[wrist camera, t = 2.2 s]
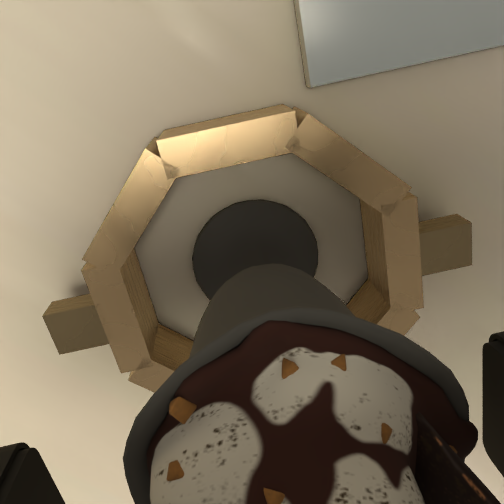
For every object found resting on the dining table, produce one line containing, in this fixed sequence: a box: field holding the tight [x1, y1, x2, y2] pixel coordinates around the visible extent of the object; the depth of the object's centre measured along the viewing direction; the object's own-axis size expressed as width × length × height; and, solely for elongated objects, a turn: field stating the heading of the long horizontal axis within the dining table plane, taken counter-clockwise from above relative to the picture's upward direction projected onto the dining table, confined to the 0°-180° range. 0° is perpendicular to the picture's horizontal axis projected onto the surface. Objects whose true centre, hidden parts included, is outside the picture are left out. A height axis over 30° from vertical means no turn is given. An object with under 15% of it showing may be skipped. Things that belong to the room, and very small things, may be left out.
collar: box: [43, 104, 472, 392], centre depth 17 cm, size 15×11×2 cm
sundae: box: [123, 200, 501, 504], centre depth 11 cm, size 7×7×15 cm
